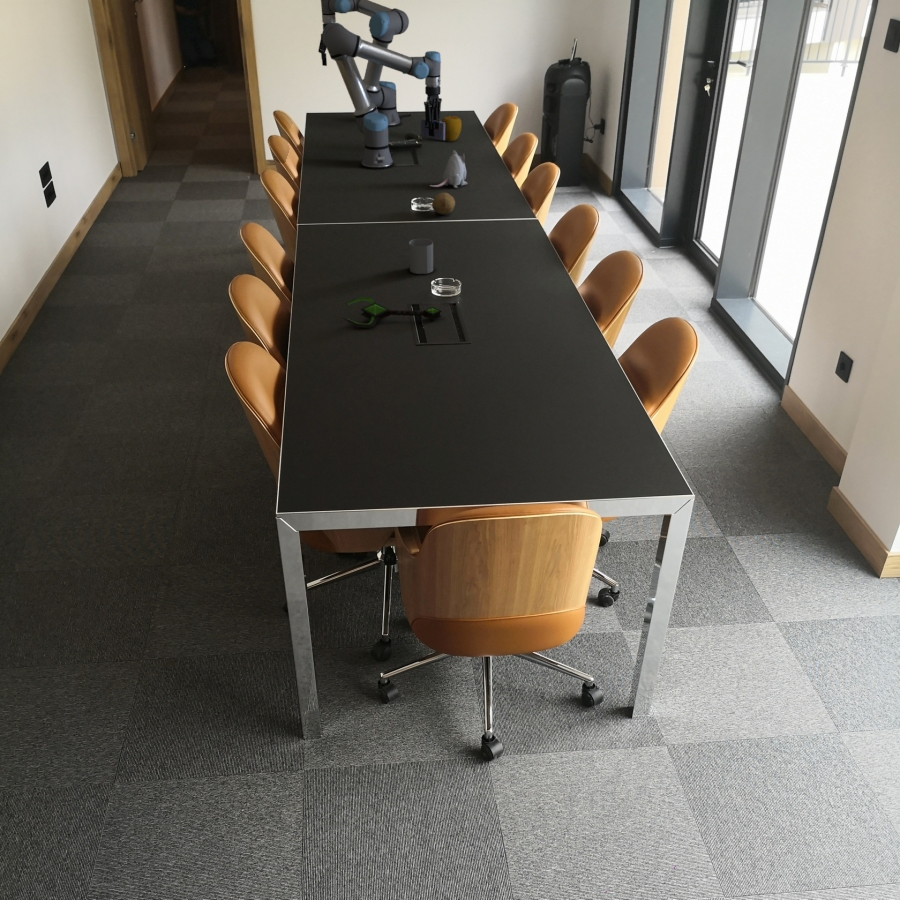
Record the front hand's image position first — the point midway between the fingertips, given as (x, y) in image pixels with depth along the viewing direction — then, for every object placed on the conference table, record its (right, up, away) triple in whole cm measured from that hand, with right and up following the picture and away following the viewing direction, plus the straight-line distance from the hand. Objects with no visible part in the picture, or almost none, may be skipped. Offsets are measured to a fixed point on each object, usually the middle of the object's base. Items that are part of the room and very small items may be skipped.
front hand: (432, 135), depth 441 cm
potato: (+6, -61, -78) cm, 100 cm away
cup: (-1, -96, -133) cm, 164 cm away
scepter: (-9, -120, -169) cm, 208 cm away
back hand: (-59, +62, +59) cm, 104 cm away
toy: (+8, -41, -47) cm, 63 cm away
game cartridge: (0, -1, +1) cm, 2 cm away
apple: (+9, +7, +29) cm, 32 cm away
